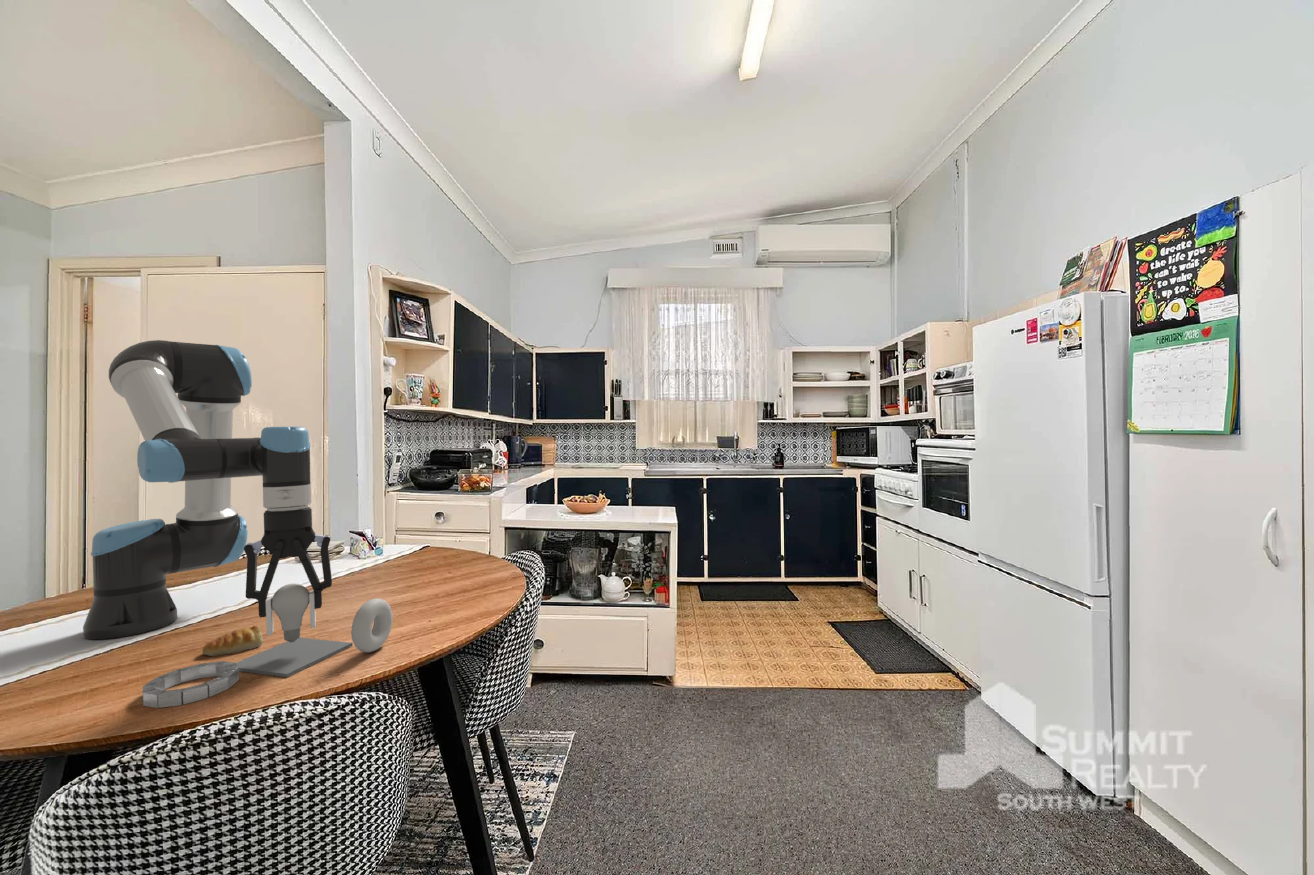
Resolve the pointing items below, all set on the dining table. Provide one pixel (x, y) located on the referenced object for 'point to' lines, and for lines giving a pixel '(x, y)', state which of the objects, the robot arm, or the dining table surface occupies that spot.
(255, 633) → the pastry
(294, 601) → the lightbulb
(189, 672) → the segmented bracelet
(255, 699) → the dining table surface
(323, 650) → the mat
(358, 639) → the donut
